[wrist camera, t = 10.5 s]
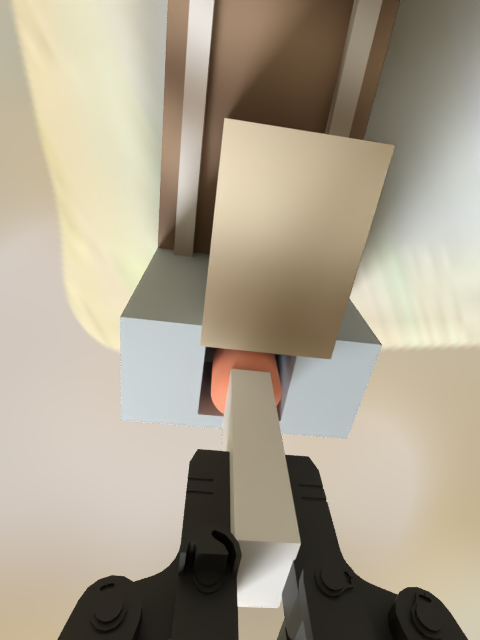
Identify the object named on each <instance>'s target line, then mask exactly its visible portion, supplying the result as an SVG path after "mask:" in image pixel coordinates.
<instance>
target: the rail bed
mask: <svg viewBox="0 0 480 640" xmlns="http://www.w3.org/2000/svg"><path fill="white" fill-rule="evenodd" d="M399 2H400V0H168V13H167V38H166V62H165V86H164V111H163V135H162V160H161V184H160V209H159V233H158V248H162V249H170V250H174V255H181V256H189V257H192V256H193V252H194V253H201V254H209V255H210V248H211V238H212V229H213V220H214V210H215V201H216V192H217V182H218V173H219V164H220V154H221V145H222V136H223V126H224V118H228V119H234V120H240V121H247V122H253V123H259V124H265V125H272V126H278V127H284V128H290V129H297V130H303V131H309V132H315V133H322V134H328V135H334V136H340V137H347V138H353V139H359V140H363V139H364V135H365V131H366V127H367V124H368V120H369V116H370V112H371V108H372V105H373V101H374V97H375V93H376V90H377V86H378V82H379V78H380V74H381V71H382V67H383V63H384V59H385V55H386V52H387V48H388V44H389V40H390V37H391V33H392V29H393V25H394V21H395V18H396V14H397V10H398V6H399Z"/></svg>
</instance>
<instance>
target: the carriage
mask: <svg viewBox="0 0 480 640" xmlns="http://www.w3.org/2000/svg"><path fill="white" fill-rule="evenodd" d="M394 148H395V145H390V144H384V143H378V142H371V141H365V140H359V139H353V138H347V137H340V136H334V135H328V134H322V133H315V132H309V131H303V130H297V129H290V128H284V127H278V126H272V125H265V124H259V123H253V122H247V121H240V120H234V119H228V118H224V126H223V136H222V145H221V154H220V164H219V173H218V182H217V192H216V201H215V210H214V220H213V229H212V238H211V248H210V257H209V266H208V276H207V285H206V294H205V303H204V313H203V322H202V331H201V341H200V346H204V347H214V348H224V349H233V350H243V351H253V352H263V353H273V354H282V355H292V356H302V357H312V358H322V359H331V357H332V353H333V350H334V347H335V343H336V340H337V337H338V333H339V330H340V327H341V324H342V320H343V317H344V314H345V310H346V307H347V304H348V300H349V297H350V294H351V290H352V287H353V284H354V280H355V277H356V274H357V270H358V267H359V264H360V260H361V257H362V254H363V251H364V247H365V244H366V241H367V237H368V234H369V231H370V227H371V224H372V221H373V217H374V214H375V211H376V207H377V204H378V201H379V197H380V194H381V191H382V187H383V184H384V181H385V178H386V174H387V171H388V168H389V164H390V161H391V158H392V154H393V151H394Z"/></svg>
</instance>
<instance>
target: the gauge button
mask: <svg viewBox="0 0 480 640" xmlns="http://www.w3.org/2000/svg"><path fill="white" fill-rule="evenodd" d="M231 369H240V370H250V371H261V372H270V375H271V380H272V386H273V391H274V397H275V402H276V406H277V404H278V403H279V401H280V398H281V394H282V388H281V382H280V378H279V373H278V368H277V363H276V359H275V354H273V353H263V352H253V351H243V350H233V349H224V348H214V347H213V364H212V382H211V398H212V401H213V403H214V405H215V407H216V408H217V409H218V410H219V411H220V412H221V413H223V414H224V410H225V404H226V397H227V391H228V385H229V378H230V372H231Z"/></svg>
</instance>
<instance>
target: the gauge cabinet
mask: <svg viewBox="0 0 480 640" xmlns="http://www.w3.org/2000/svg"><path fill="white" fill-rule="evenodd" d="M209 257H210V255H209V254H201V253H194V252H193V256H192V257H189V256H181V255H174V250H170V249H162V248H158V249H157V251H156V252H155V254H154V256H153V258H152V260H151V262H150V263H149V265H148V267H147V269H146V271H145V273H144V274H143V276H142V278H141V280H140V282H139V284H138V285H137V287H136V289H135V291H134V293H133V295H132V296H131V298H130V300H129V302H128V304H127V306H126V307H125V309H124V311H123V313H122V315H121V317H120V338H121V421H133V422H146V423H158V424H171V425H182V426H194V427H195V426H196V427H207V428H219V429H222V423H223V417H224V414H223V413H221V412H220V411H219V410H218V409H217V408H216V407H215V405H214V403H213V401H212V398H211V382H212V364H213V347H204V346H200V341H201V331H202V322H203V313H204V303H205V294H206V285H207V276H208V266H209ZM381 346H382V344H381V343H380V341H379V340H378V339H377V337H376V336H375V334H374V333H373V332H372V330H371V329H370V327H369V326H368V324H367V323H366V322H365V320H364V319H363V317H362V316H361V314H360V313H359V312H358V310H357V309H356V307H355V306H354V304H353V303H352V302H351V300H350V299H349V300H348V304H347V307H346V310H345V314H344V317H343V320H342V324H341V327H340V330H339V333H338V337H337V340H336V343H335V347H334V350H333V353H332V357H331V359H322V358H312V357H302V356H292V355H282V354H275V359H276V363H277V368H278V373H279V378H280V382H281V388H282V394H281V398H280V401H279V403H278V404H277V406H276V408H277V413H278V419H279V425H280V430H281V434H293V435H304V436H316V437H329V438H342V439H347V438H348V435H349V432H350V430H351V427H352V424H353V422H354V419H355V417H356V414H357V411H358V408H359V406H360V403H361V400H362V398H363V395H364V392H365V389H366V387H367V384H368V381H369V379H370V376H371V373H372V370H373V368H374V365H375V362H376V360H377V357H378V354H379V352H380V349H381Z"/></svg>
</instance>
